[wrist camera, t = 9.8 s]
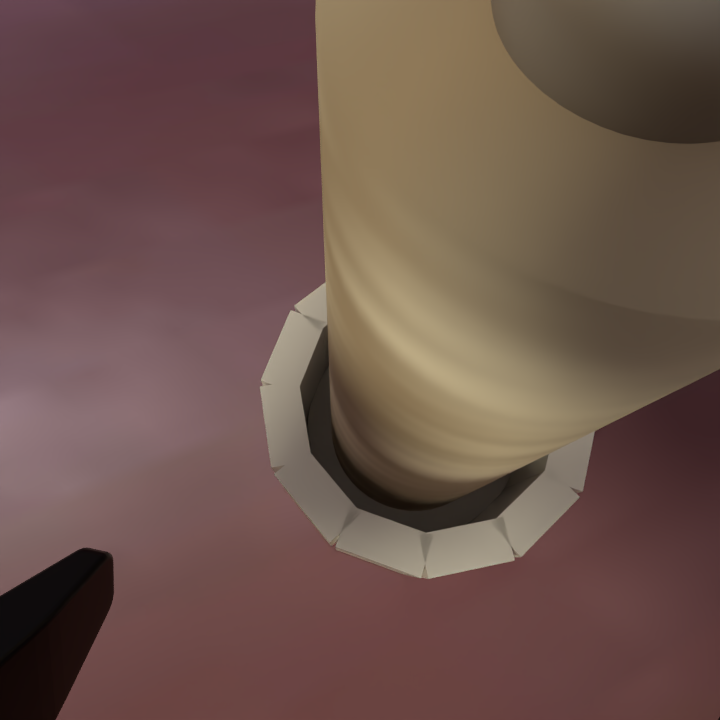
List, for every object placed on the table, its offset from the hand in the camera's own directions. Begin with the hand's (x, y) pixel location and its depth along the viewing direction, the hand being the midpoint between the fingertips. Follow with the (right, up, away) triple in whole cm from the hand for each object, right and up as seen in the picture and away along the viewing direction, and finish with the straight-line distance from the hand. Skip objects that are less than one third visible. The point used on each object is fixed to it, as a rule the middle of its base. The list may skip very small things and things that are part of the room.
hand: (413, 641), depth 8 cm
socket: (+1, +2, +10) cm, 10 cm away
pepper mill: (+1, +2, +9) cm, 10 cm away
